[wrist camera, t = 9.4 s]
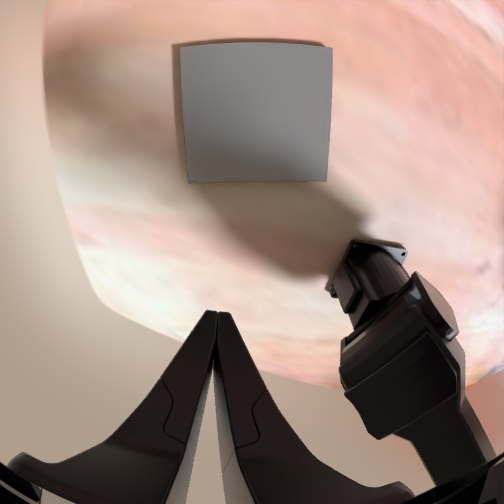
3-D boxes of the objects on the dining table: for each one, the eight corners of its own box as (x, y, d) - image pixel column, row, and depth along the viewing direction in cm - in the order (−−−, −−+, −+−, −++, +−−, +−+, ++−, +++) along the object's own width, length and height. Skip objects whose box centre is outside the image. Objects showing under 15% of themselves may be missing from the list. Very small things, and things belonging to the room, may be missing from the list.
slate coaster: (329, 49, 14) (332, 47, 14) (323, 177, 20) (326, 181, 19) (182, 49, 14) (179, 47, 14) (190, 180, 20) (188, 183, 19)
